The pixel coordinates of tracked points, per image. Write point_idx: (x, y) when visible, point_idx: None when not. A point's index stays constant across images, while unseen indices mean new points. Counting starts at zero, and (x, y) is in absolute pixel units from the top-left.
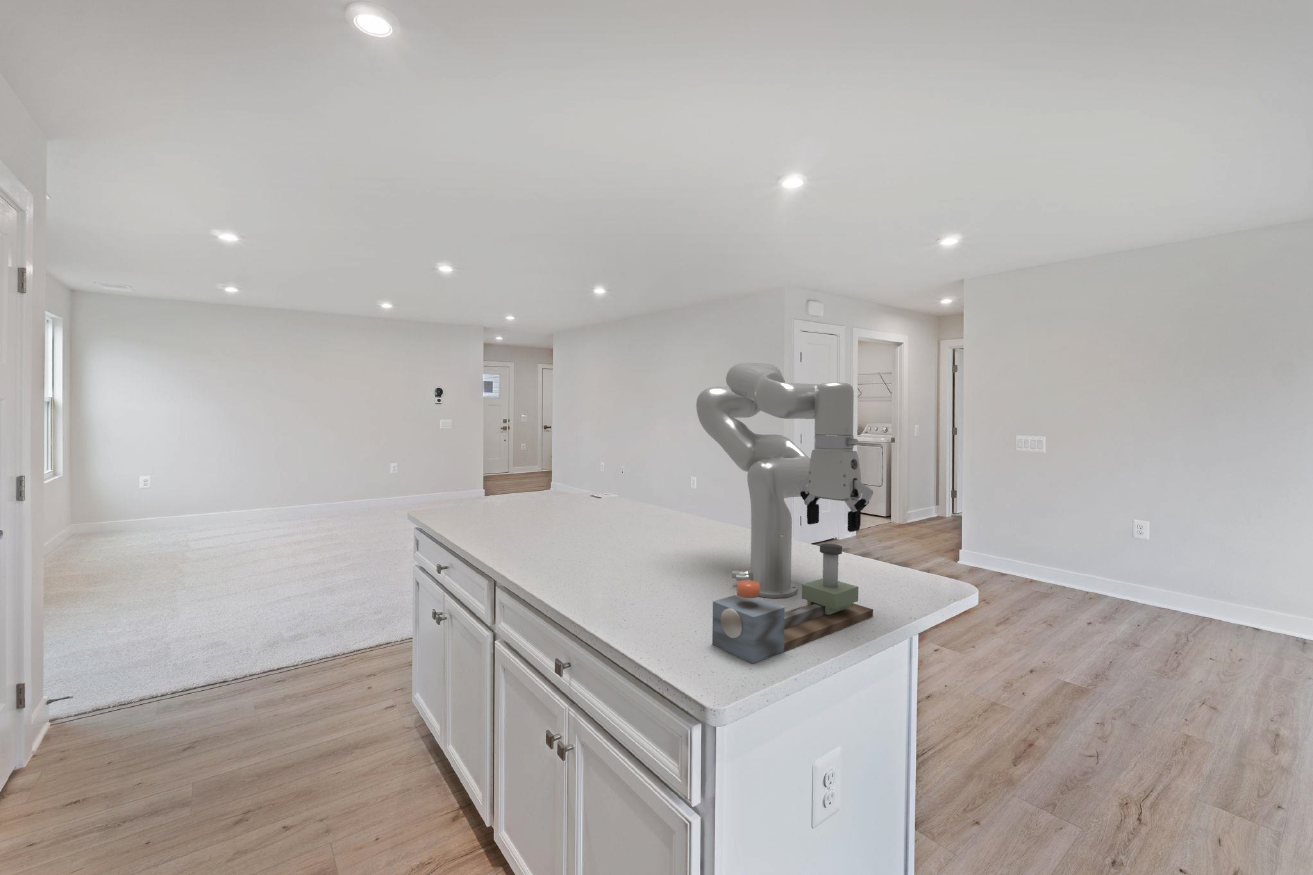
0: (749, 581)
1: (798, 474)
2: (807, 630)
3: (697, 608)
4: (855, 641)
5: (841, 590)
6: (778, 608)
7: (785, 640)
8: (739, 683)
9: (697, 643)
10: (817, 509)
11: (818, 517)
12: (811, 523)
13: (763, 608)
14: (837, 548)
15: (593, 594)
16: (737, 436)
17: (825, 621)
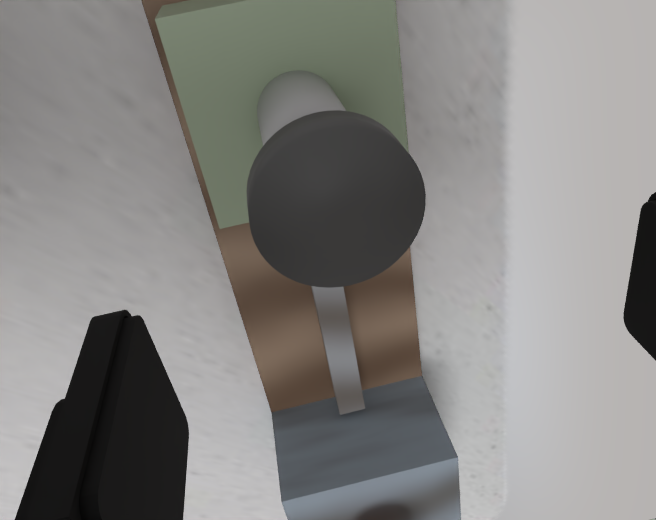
0: None
1: None
2: (392, 278)
3: (7, 422)
4: (480, 138)
5: (388, 117)
6: (453, 472)
7: (411, 364)
8: (464, 477)
9: (266, 487)
10: (121, 469)
11: (129, 358)
12: (184, 416)
13: (429, 502)
14: (414, 213)
15: None
16: None
17: None
